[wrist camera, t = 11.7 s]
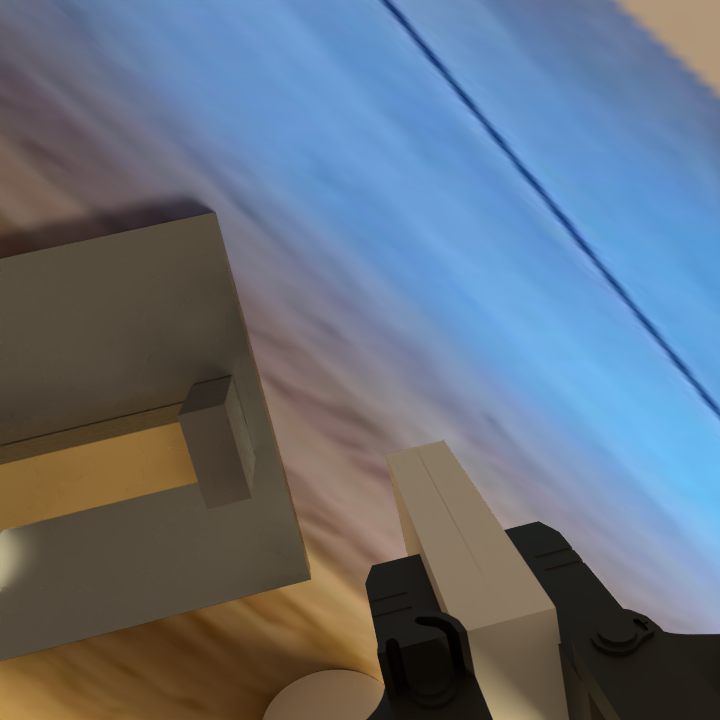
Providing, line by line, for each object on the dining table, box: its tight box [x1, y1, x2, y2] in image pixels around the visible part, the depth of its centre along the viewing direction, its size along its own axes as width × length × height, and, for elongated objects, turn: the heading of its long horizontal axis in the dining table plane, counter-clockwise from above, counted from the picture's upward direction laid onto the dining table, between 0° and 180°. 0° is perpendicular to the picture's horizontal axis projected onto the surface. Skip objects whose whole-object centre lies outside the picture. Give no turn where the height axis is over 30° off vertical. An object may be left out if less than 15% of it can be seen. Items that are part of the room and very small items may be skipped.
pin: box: [0, 376, 255, 531], centre depth 22 cm, size 11×4×4 cm, turn 102°
